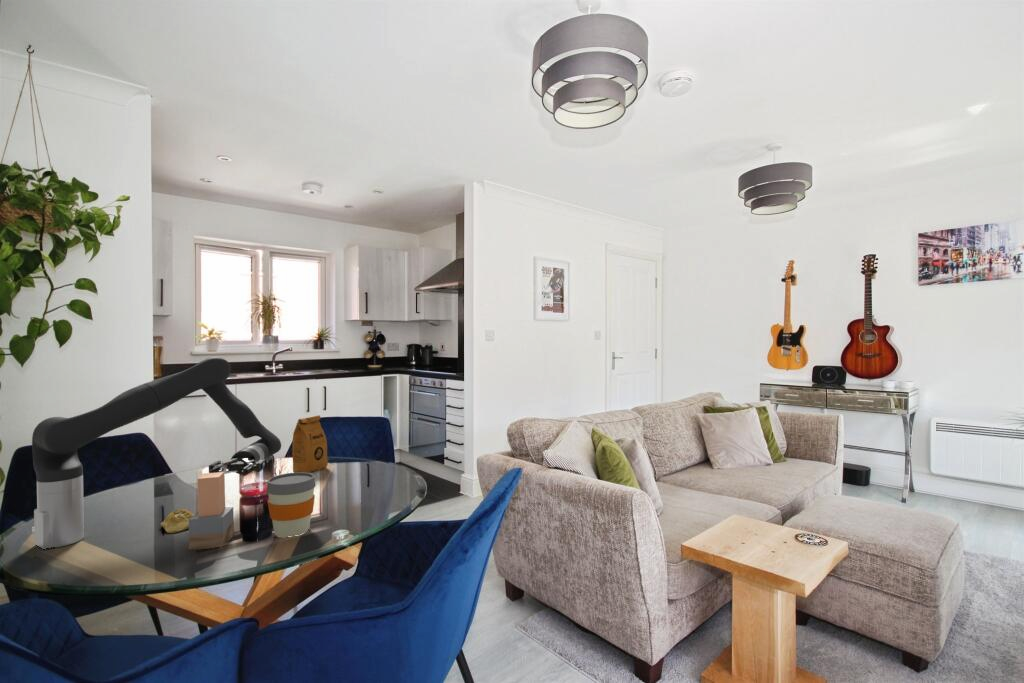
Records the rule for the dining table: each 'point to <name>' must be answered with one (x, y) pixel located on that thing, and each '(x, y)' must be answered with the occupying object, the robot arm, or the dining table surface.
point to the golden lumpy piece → (177, 521)
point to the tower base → (210, 539)
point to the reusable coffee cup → (291, 502)
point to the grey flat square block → (211, 522)
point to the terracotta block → (211, 494)
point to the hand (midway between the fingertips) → (228, 473)
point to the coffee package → (309, 446)
